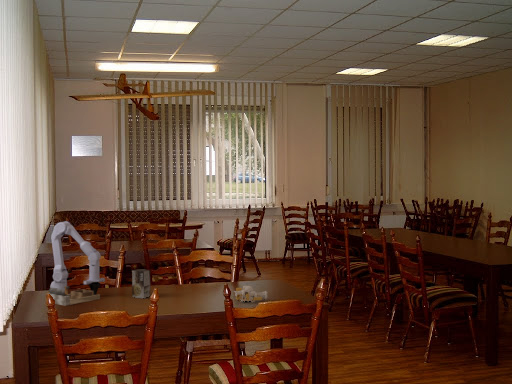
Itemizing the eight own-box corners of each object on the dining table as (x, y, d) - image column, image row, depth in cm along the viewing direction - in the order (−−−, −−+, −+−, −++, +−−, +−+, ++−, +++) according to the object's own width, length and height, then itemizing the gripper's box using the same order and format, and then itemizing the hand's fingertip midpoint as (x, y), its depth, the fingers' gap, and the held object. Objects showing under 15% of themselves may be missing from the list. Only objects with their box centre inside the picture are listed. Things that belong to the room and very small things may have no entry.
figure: (272, 301, 397) (272, 285, 396) (254, 305, 382) (254, 289, 382) (247, 297, 406) (247, 282, 406) (229, 302, 392) (229, 286, 391)
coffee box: (150, 297, 404) (151, 270, 404) (143, 298, 399) (143, 271, 398) (138, 295, 409) (139, 268, 408) (131, 297, 403) (131, 270, 403)
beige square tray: (70, 299, 392) (70, 291, 392) (82, 297, 399) (82, 289, 399) (81, 301, 387) (81, 293, 387) (93, 298, 394) (93, 291, 394)
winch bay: (46, 303, 382) (46, 283, 382) (81, 296, 403) (81, 278, 402) (66, 306, 373) (66, 286, 373) (100, 299, 394) (100, 281, 393)
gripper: (89, 274, 392) (89, 297, 392) (108, 271, 404) (108, 294, 404) (81, 273, 396) (81, 296, 396) (100, 270, 408) (99, 293, 408)
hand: (94, 295), depth 400 cm, fingers closed
